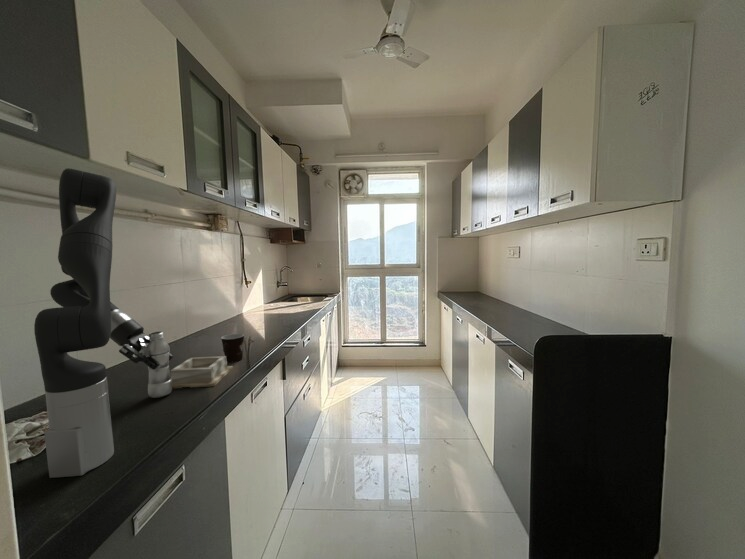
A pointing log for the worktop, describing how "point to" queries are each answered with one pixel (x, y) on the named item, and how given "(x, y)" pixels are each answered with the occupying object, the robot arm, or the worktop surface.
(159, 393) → the plastic bottle
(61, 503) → the worktop surface
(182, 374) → the plate
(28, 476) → the worktop surface
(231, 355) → the coffee mug
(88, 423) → the robot arm
